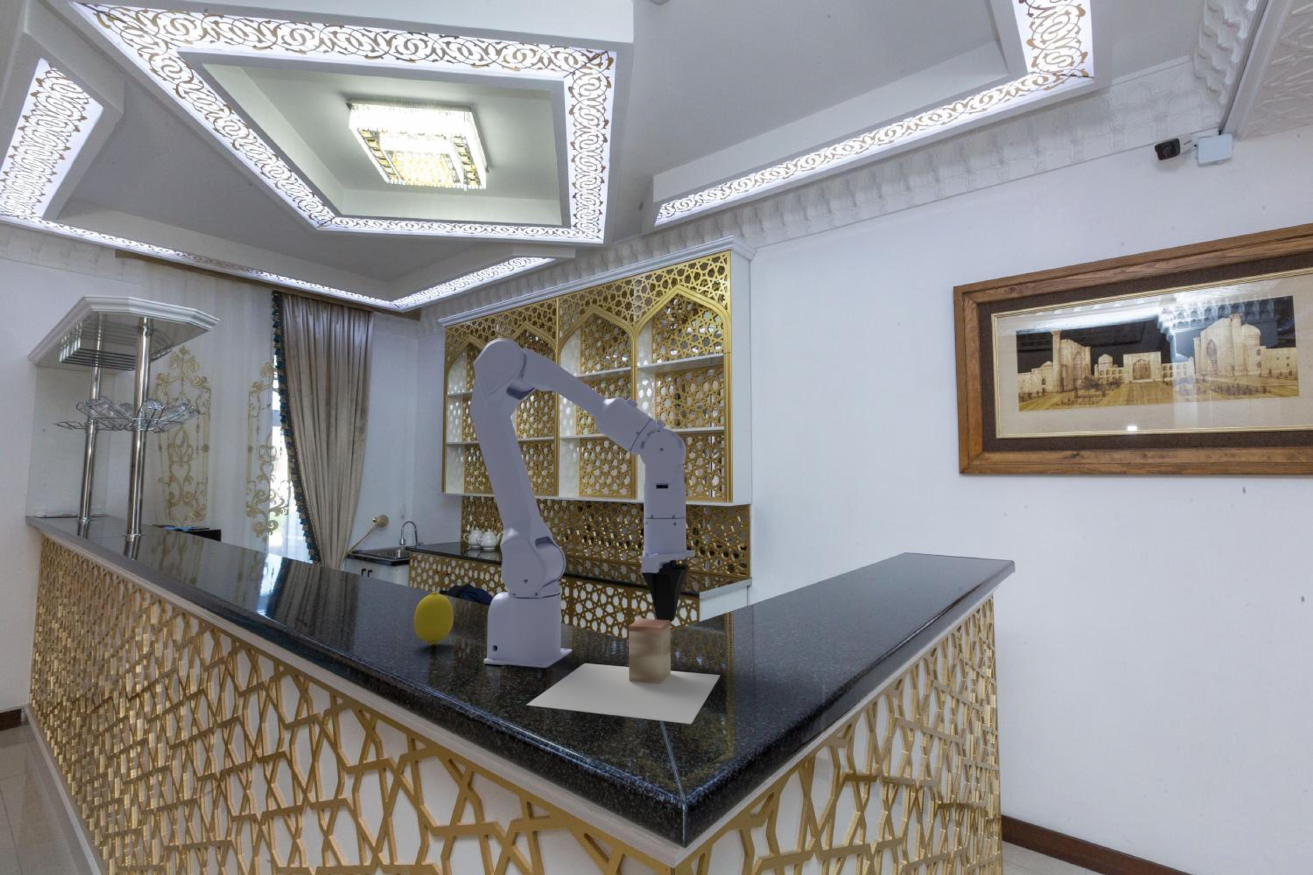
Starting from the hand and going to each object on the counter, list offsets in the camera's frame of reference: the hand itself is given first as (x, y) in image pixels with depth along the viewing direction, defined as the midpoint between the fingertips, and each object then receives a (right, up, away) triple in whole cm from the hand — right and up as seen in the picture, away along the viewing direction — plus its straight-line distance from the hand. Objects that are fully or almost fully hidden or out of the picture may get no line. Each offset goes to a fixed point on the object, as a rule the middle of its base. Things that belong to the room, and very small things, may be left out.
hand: (665, 620), depth 76 cm
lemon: (-35, -7, +9) cm, 36 cm away
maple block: (-2, -5, -7) cm, 9 cm away
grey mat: (-4, -5, -11) cm, 13 cm away
